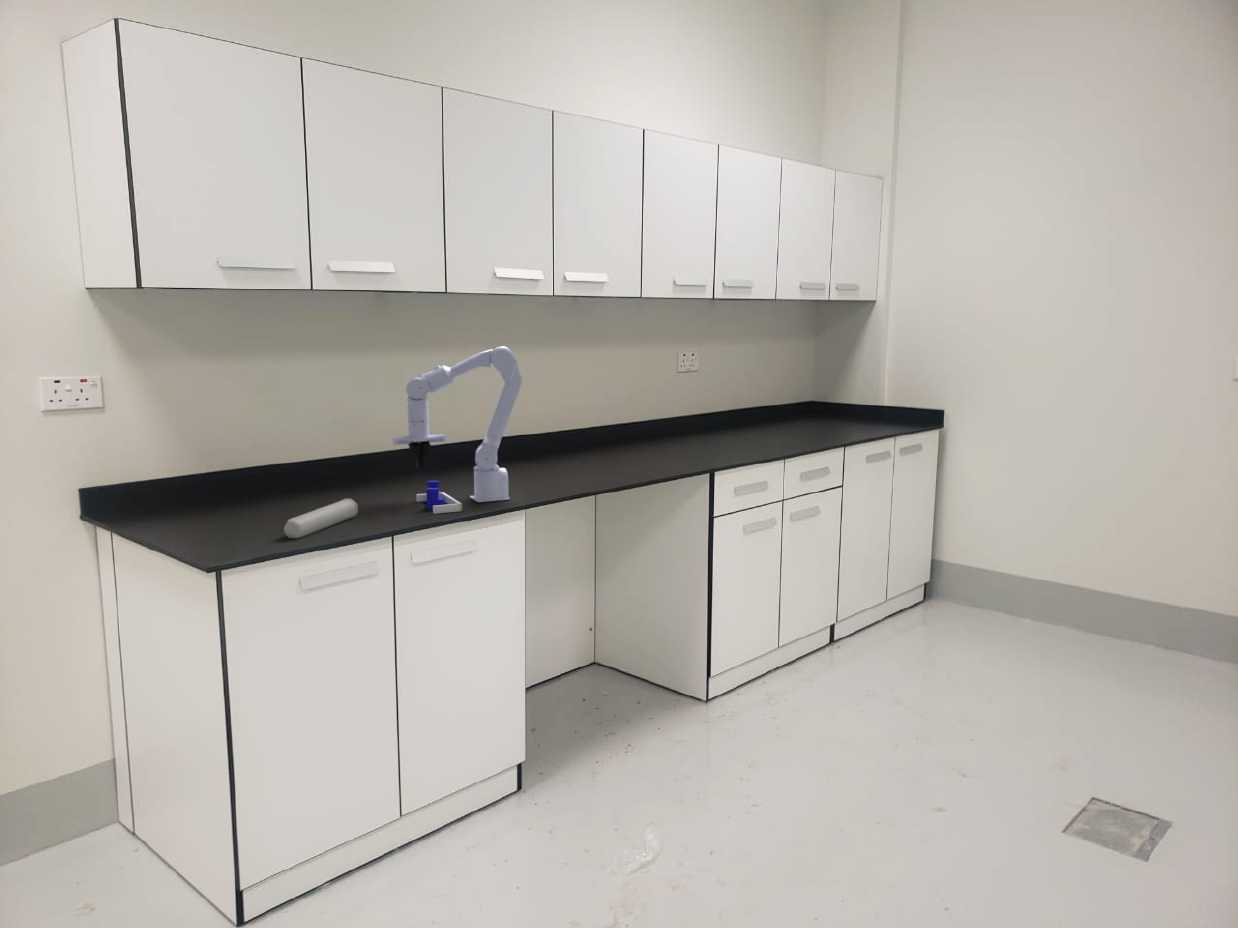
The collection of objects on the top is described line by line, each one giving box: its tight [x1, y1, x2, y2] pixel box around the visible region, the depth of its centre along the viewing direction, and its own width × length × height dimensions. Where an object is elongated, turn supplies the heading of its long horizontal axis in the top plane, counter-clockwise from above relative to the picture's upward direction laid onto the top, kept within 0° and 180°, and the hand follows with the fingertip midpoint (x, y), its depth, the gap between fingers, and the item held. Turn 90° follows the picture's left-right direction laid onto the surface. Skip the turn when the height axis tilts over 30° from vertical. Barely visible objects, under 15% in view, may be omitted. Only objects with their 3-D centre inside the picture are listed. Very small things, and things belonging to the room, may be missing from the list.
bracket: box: [416, 491, 463, 515], centre depth 244 cm, size 8×18×2 cm, turn 28°
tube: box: [283, 498, 359, 539], centre depth 219 cm, size 5×5×25 cm
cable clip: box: [426, 480, 445, 511], centre depth 245 cm, size 12×4×6 cm, turn 11°
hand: (420, 468), depth 250 cm, fingers closed
